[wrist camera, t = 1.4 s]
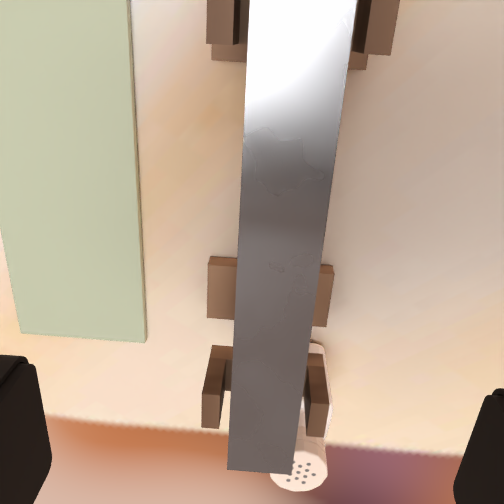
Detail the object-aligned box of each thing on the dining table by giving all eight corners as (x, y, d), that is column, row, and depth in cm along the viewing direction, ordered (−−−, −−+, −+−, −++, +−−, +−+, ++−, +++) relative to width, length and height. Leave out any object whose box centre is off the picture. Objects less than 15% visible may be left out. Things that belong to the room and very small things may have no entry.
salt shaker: (262, 376, 34) (256, 491, 25) (270, 333, 32) (267, 440, 24) (314, 384, 34) (326, 501, 26) (326, 341, 32) (343, 451, 24)
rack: (374, -18, 23) (455, -61, 12) (324, 317, 31) (347, 455, 21) (216, -27, 23) (165, -78, 13) (209, 308, 32) (175, 440, 21)
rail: (260, -94, 14) (256, -124, 12) (355, -89, 14) (372, -117, 12) (232, 420, 24) (227, 469, 21) (289, 425, 24) (291, 475, 21)
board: (124, -106, 22) (120, -110, 21) (147, 338, 33) (144, 343, 33) (-60, -116, 22) (-69, -120, 21) (25, 328, 33) (20, 333, 33)
